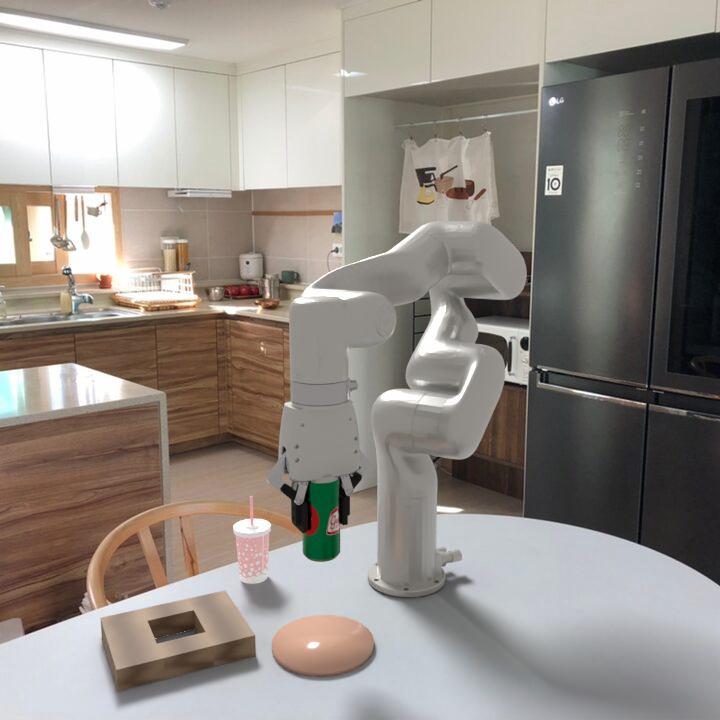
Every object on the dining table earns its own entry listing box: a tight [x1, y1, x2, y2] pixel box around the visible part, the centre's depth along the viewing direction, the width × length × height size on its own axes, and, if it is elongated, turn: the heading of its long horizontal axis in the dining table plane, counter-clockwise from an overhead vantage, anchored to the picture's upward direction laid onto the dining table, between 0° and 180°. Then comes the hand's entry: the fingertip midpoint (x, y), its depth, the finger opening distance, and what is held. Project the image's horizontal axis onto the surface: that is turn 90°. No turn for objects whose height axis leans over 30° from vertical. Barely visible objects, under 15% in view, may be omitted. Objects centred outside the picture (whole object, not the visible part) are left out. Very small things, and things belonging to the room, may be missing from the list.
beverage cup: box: [232, 495, 272, 585], centre depth 124 cm, size 6×6×14 cm
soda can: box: [301, 474, 341, 563], centre depth 102 cm, size 5×5×12 cm
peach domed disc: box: [271, 614, 375, 677], centre depth 105 cm, size 14×14×1 cm
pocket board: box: [100, 589, 257, 692], centre depth 105 cm, size 18×14×3 cm
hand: (321, 524), depth 102 cm, fingers closed on soda can, 5 cm apart
